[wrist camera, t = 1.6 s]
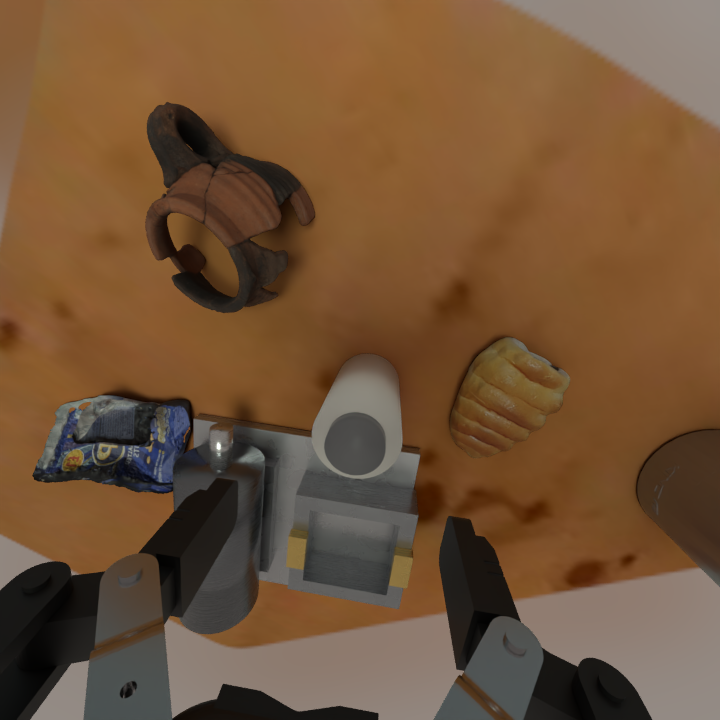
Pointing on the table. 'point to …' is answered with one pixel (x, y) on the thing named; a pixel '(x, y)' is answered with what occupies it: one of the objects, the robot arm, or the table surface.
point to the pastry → (505, 398)
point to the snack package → (116, 443)
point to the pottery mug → (218, 207)
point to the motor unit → (297, 521)
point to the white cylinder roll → (360, 419)
